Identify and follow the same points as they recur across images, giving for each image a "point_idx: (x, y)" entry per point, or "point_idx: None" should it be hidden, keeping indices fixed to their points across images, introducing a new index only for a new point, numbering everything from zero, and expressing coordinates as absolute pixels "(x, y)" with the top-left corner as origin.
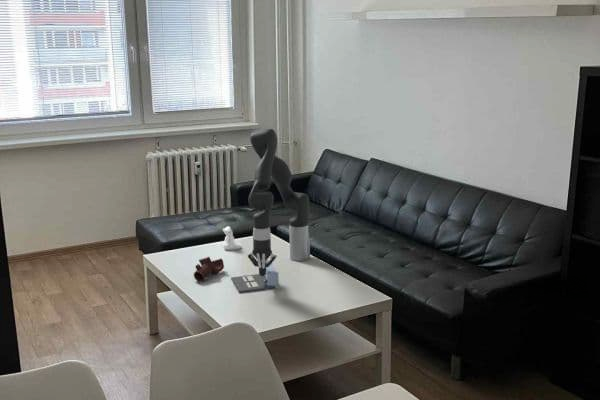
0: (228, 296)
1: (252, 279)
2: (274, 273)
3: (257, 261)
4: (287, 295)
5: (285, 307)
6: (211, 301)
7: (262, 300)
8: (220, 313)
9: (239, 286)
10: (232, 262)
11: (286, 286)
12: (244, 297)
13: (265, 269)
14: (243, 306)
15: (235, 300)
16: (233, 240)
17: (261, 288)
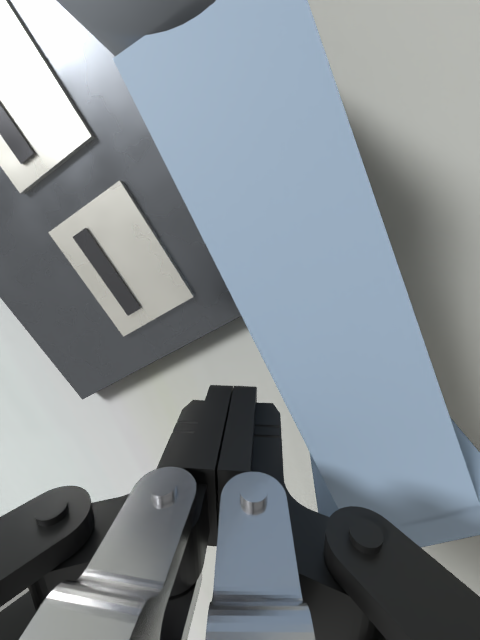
0: (54, 444)
1: (62, 119)
2: (445, 527)
3: (21, 569)
4: (469, 390)
5: (464, 563)
6: (6, 511)
7: (292, 483)
8: None
9: (37, 311)
10: None
11: (448, 179)
12: (158, 450)
13: (275, 473)
14: (205, 558)
15: (125, 493)
16: None
17: (229, 321)
